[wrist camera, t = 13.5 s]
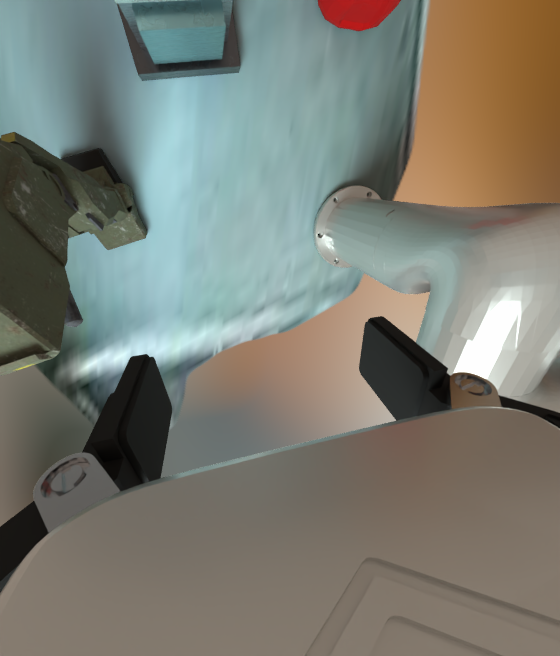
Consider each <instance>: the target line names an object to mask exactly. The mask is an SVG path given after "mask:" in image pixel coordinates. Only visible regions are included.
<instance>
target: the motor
mask: <svg viewBox="0 0 560 656" xmlns="http://www.w3.org/2000/svg"><path fill="white" fill-rule="evenodd" d="M114 1H115V3H117V5H118V9H119V12H120V15H121V19H122V22H123V25H124V29H125V32H126V35H127V39H128V42H129V46H130V49H131V52H132V56H133V59H134V62H135V66H136V69H137V72H138V75H139V77H140V78H141V80H142V81H144V80H156V79H168V78H180V77H192V76H204V75H216V74H228V73H239V69H240V60H239V54H238V47H237V40H236V33H235V26H234V19H233V12H232V4H233V0H114Z"/></svg>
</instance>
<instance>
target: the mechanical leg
mask: <svg viewBox="0 0 560 656" xmlns="http://www.w3.org/2000/svg"><path fill="white" fill-rule="evenodd" d="M133 195H134V194H133V192H132V190H131V188H130V186H128V185H126V184H125V183H123V182H122V181H121V179H120V177H119V176H118V174H117V173H116V171H115V170H114V168H113V166H112V165H111V163H110V162H109V160H108V159H107V157H106V155H105V154H104V152H103V151H102V149H100V148H98V149H94V150H90V151H87V152H84V153H80V154H77V155H73V156H70V157H67V158H63V159H59V158H57V157H55V156H54V155H52V154H50V153H49V152H47V151H46V150H44V149H43V148H41V147H40V146H38V145H37V144H35V143H34V142H33V141H31V140H29V139H27V138H25V137H23V136H21V135H19V134H17V133H16V132H12V133H8V134H5V135H1V138H0V376H2V375H5V374H8V373H11V372H14V371H17V370H20V369H23V368H26V367H28V366H31V365H34V364H37V363H40V362H43V361H46V360H49V359H52V358H54V357H55V356H56V355H57V354H58V353H59V352H60V349H61V343H62V336H63V329H64V323H65V325H67V326H70V327H77V326H78V325H80V324H81V323H82V321H83V319H82V317H81V314H80V312H79V310H78V307H77V305H76V302H75V300H74V298H73V295H72V293H71V291H70V285H69V281H68V278H67V274H66V271H65V265H66V263H67V246H68V238H71V237H74V236H77V235H80V234H82V233H85V232H88V231H89V233H90V234H95V235H96V237H97V238H98V239H99V240H100V242H101V243H102V244H103V245H104V247H105V248H106V249H107V250H110V249H113V248H116V247H120V246H123V245H126V244H129V243H132V242H135V241H138V240H141V239H145V238H146V235H147V231H146V229H145V227H144V225H143V223H142V221H141V219H140V217H139V215H138V213H137V211H138V210H137V208H136V206H135V204H134V201H133V197H132V196H133Z"/></svg>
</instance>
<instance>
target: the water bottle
mask: <svg viewBox="0 0 560 656" xmlns="http://www.w3.org/2000/svg"><path fill="white" fill-rule="evenodd" d="M400 1H401V0H318V5H319V7H320V9H321V12H322V14H323V16H324V18H325V19H326V20H327V21H329V22H330V23H332V24H333V25H335V26H337V27H338V28H344V29H351V30H355V31H362V30H366V29H369V28H373V27H377V26H378V25H379V24H380V23H381V22H382V21H383V20H384V19H385V18H386V17H387V16H388V15H389V14H390V13H391V12H392V11H393V10H394V9H395V7H396V6H397V5H398V4H399V2H400Z"/></svg>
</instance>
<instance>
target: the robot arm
mask: <svg viewBox="0 0 560 656" xmlns="http://www.w3.org/2000/svg"><path fill="white" fill-rule="evenodd" d="M334 198H335V201H333V200H334ZM318 234H320V235H319V236H318ZM314 242H315V246H316V248H317V251H318V252H319V254H320V255H321V257H322V258H323V259H324V260H325V261H327V262H328V263H330V264H332V265H334V266H336V267H341V268H348V267H355V268H357V269H359V270H360V271H362V272H364V273H365V274H367V275H369V276H370V277H372V278H374V279H375V280H377V281H379V282H380V283H382V284H384V285H386V286H388V287H389V288H391V289H393V290H395V291H398V292H400V293H405V294H421V293H426V292H430V295H429V299H428V302H427V306H426V311H425V314H424V318H423V321H422V324H421V327H420V331H419V334H418V337H417V340H416V342H414V341H413V340H412V339H411V338H409V337H408V336H407V335H406V334H404V333H403V332H402V331H401V330H399V329H398V328H397V327H396V326H394V325H393V324H392V323H391V322H389V321H388V320H387V319H386V318H384V317H382V316H380V317H374V318H370V319H369V320H368V322H366V323H365V328H364V335H363V342H362V350H361V358H360V365H359V370H360V373H361V375H362V376H363V378H364V379H365V380H366V381H367V383H368V384H369V385H370V387H371V388H372V389H373V391H374V392H375V393H376V394H377V396H378V397H379V398H380V400H381V401H382V402H383V404H384V405H385V406H386V407H387V409H388V410H389V411H390V413H391V414H392V415H393V417H394V418H395V419H396V421H394V422H389V423H385V424H381V425H376V426H372V427H368V428H363V429H359V430H355V431H351V432H346V433H342V434H338V435H334V436H329V437H325V438H321V439H317V440H313V441H309V442H304V443H300V444H296V445H292V446H288V447H284V448H279V449H275V450H271V451H267V452H263V453H259V454H255V455H251V456H247V457H243V458H238V459H234V460H231V461H226V462H222V463H218V464H214V465H210V466H206V467H202V468H198V469H194V470H191V471H187V472H183V473H179V474H175V475H172V476H168V477H164V478H161V472H162V466H163V460H164V455H165V449H166V443H167V438H168V432H169V426H170V420H171V415H172V405H171V402H170V399H169V397H168V394H167V391H166V389H165V386H164V383H163V380H162V378H161V375H160V372H159V370H158V367H157V364H156V361H155V359H154V357H149V356H148V355H147V354H145V355H139V356H132V357H131V358H130V360H129V362H128V364H127V366H126V368H125V370H124V373H123V375H122V377H121V379H120V381H119V383H118V386H117V388H116V390H115V392H114V393H112V394H110V396H109V397H108V399H107V402H106V404H105V406H104V408H103V410H102V412H101V414H100V416H99V418H98V420H97V422H96V424H95V427H94V429H93V431H92V433H91V435H90V437H89V439H88V441H87V443H86V445H85V447H84V450H83V452H82V453H76V454H73V455H71V456H68V457H66V458H64V459H62V460H60V461H58V462H57V463H56V464H54V465H53V466H52V467H50V468H49V469H48V470H47V471H46V472H45V473H44V474H43V475H42V476H41V478H40V479H39V480H38V482H37V484H36V485H35V488H34V491H33V497H34V501H33V502H32V503H31V504H29V505H28V506H27V507H26V508H24V509H23V510H22V511H20V512H19V513H18V514H16V515H15V516H14V517H12V518H11V519H10V520H8V521H7V522H6V523H5V524H3V525H2V526H1V527H0V656H560V203H529V204H515V205H504V206H489V207H446V206H436V205H426V204H416V203H408V202H399V201H389V200H382V199H381V198H380V196H379V195H378V194H377V193H376V192H375V191H374V190H372V189H370V188H368V187H364V186H355V185H354V186H347V187H344V188H342V189H339V190H338V191H336V192H335V193H333V194H332V195H331V196H330V197H329V198H328V199H327V200H326V201H325V202H324V204H323V205H322V206H321V208H320V210H319V212H318V214H317V217H316V220H315V224H314ZM334 260H335V261H334Z"/></svg>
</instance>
